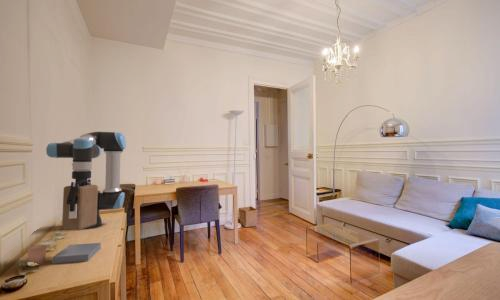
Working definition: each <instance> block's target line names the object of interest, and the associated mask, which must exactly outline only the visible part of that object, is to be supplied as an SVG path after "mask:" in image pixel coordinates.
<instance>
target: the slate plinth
mask: <svg viewBox="0 0 500 300" xmlns="http://www.w3.org/2000/svg"><path fill="white" fill-rule="evenodd" d="M101 246H102V244H101V242H94V243H93V242H92V243H77V244H69V245H67V246H66V247H64V248H63V249H62V250H60V251H59V252H58V253H56V254H55V255H53V256H52V258H51V259H52V261H51V262H52V265H53V264H54V265H55V264H68V263H79V262H88V261H90V260H91V259H92V258H93V257H94V256H95V255H96V254H97V253H98V252H99V251H100V250H101V249H102V248H101Z"/></svg>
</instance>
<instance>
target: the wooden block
mask: <svg viewBox="0 0 500 300" xmlns="http://www.w3.org/2000/svg"><path fill="white" fill-rule="evenodd" d="M70 188H71V185H66V186H64V187H63V192H62V193H63V195H62V197H63V198H62V221H61V222H62V223H61V224H62V225H61V228H62V229H63V230H64V229H65V230H75V231H81V230H85V229H84V228H87V227H90V226H93V225H95V224H96V223H97V197H98V191H99V189H98V188H99V186H98V185H97V184H91V185H85V186H80V187H79V186H78V190H77V194H76V195H77V202H76V204H77V218H72V219H69V205H70V204H67V203H66V202H67V199H68V195H69V192H70Z"/></svg>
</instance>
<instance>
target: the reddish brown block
mask: <svg viewBox="0 0 500 300" xmlns="http://www.w3.org/2000/svg"><path fill="white" fill-rule="evenodd" d="M46 256H47V245H46V244H39V245H32V246H31V247H28V249H27V260H26V263H27V262H34V263H37V264H39V265H38V266H40V265H43V264H45V263H46V261H47V259H46V258H47V257H46Z"/></svg>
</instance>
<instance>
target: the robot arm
mask: <svg viewBox="0 0 500 300" xmlns="http://www.w3.org/2000/svg"><path fill="white" fill-rule="evenodd" d="M126 147H127V141H126V138H125V135H124V133H123V132H116V131H92V132H89V133H84V134H82V135H80V136H79V137H76V138H74V139H70V140H66V141H64V142H50V143H48V144H47V145H46V150H45V151H46V152H45V153H46V155H47V156H48V157H49V158H55V159H59V158H61V159H62V158H63V159H72V163H71V166H72V172H71V179H73V180H75V181H71V182H70V183H71V184H70V186H71V188H70V192H69V195H68V199H67V202H66V203H67V204H70V205H69V219H72V218H77V204H76V202H77V195H76V194H77V190H78V186H79V187H80V186H85V185H92V183H91V178H92V171H91V170H92V166H93V165H92V164H93V162H92V160H93V159H96V158H99V157H100V156H101V155H102V149H103V153H105V180H104V181H105V185H104V187H105V188H104V189H103V190H102V192H101V191H100V190H98V197H97V223H96V224H95V225H93V226H90V227H87V228H84V229H83V230H87V229H93V228H97V227H100V226H101V225H103V224H102V223H103V221H102V217H101V215H100V211H102V210H103V211H104V210H112V211H113V210H118V209H121V208H122V206H123V205H124V201H125V199H126V198H125V196H126V195H125V194H126V193H125V192H123V189H122V188H121V187H120V186H121V184H120V183H121V182H120V181H121V154H122V153H123V152H124V150H126Z"/></svg>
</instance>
